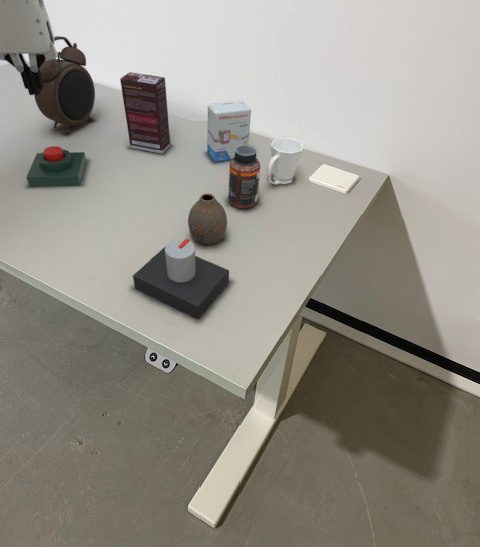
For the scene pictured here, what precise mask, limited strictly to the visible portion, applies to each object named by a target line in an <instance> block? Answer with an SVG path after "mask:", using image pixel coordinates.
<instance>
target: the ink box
mask: <svg viewBox="0 0 480 547" xmlns="http://www.w3.org/2000/svg"><path fill="white" fill-rule="evenodd" d="M251 115H252V109H251V108H250V107H249V106H248V104H247V103H246V102H245V101H244V100H232V101H219V102H218V101H217V102H210V103H209V104H208V105H207V131H206V132H207V135H206V137H207V138H206V139H207V145H206V146H207V147H206V148H207V149H206V152H207V154H208V155H209V157H210V159H211V160H212V161H213V162H214V163H219V162H226V161H231V160H232V158H234V157H235V149H236V148H237V147H239V146H249V143H250V142H249V141H250V130H251V117H252V116H251Z"/></svg>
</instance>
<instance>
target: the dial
mask: <svg viewBox="0 0 480 547" xmlns="http://www.w3.org/2000/svg"><path fill="white" fill-rule="evenodd" d="M165 246H166V247H165ZM165 246H164V247H165V256H166V265H167V274H168V277H169V278H170V279H171V280H172V281H175V282H180V283H181V282H187V281H190V280H191V279H193V278H194V276H195V274H196V265H195V256H196V246H195V244H194V243H193V242H192V241H190V239H189V238H185V239H184V238H177V239H173V240H171V241H169V242H168V243H167V244H165Z"/></svg>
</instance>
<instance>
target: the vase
mask: <svg viewBox="0 0 480 547" xmlns="http://www.w3.org/2000/svg"><path fill="white" fill-rule="evenodd" d="M187 226H188V230H189V232H190V235H191V236H192V238H193V239H194V240H195V241H197V242H198V243H200V244H202V245H213V244H215V243H218V242H220V240H222V238H224V236H225V233H226V231H227V227H228V216H227V212H226V210H225V208H224V206H222V204H221V203H220V202H219V201H218V200H217V199H216V198H215V196H214V194H212V193H207V192H206V193H203V194H201V195H200V197H199V199H198V200H197V201H196V202H195V203H194V204H193V205H192V206H191V208H190V210H189V213H188V217H187Z"/></svg>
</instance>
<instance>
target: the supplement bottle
mask: <svg viewBox="0 0 480 547" xmlns="http://www.w3.org/2000/svg"><path fill="white" fill-rule="evenodd" d="M260 162H261V161H260V160H259V159H258V158H257V149H256V148H255V147H253V146H251V145H248V146H239V147H237V148H236V149H235V157H234V158H232V160H229V167H228V168H229V170H228V202H229V204H230V205H231V206H233V207H235V208H238V209H250V208H252V207H254V206H256V204H257V203H258V199H259V187H260V177H261V176H260V175H261V174H260V173H261V163H260Z"/></svg>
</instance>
